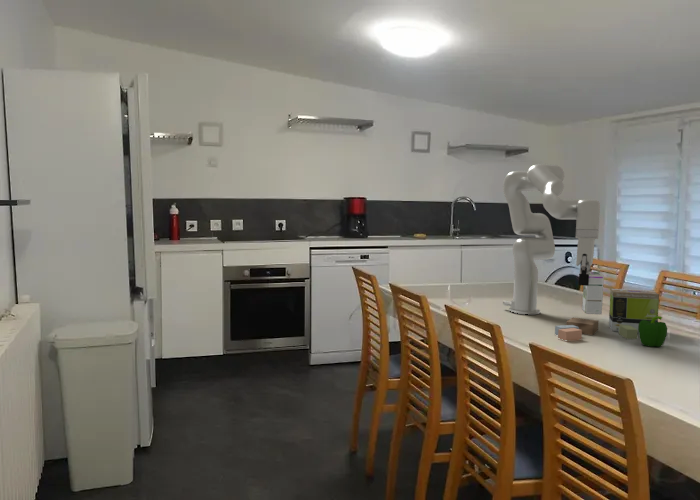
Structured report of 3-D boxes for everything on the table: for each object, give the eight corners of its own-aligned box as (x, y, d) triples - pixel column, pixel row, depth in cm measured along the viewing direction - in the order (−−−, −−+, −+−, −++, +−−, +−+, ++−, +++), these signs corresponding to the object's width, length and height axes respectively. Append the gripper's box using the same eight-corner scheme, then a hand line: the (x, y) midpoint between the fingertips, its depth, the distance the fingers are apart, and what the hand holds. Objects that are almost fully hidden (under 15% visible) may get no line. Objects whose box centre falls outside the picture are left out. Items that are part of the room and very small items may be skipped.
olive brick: (637, 339, 192) (637, 329, 192) (626, 339, 193) (626, 329, 192) (629, 334, 199) (629, 325, 199) (618, 334, 200) (619, 324, 199)
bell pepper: (631, 344, 185) (633, 314, 185) (646, 341, 189) (648, 312, 189) (655, 350, 178) (657, 319, 177) (671, 347, 182) (673, 316, 181)
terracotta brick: (565, 342, 188) (566, 331, 187) (558, 339, 191) (558, 329, 191) (581, 340, 191) (581, 330, 190) (573, 337, 194) (574, 327, 193)
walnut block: (565, 332, 203) (566, 321, 202) (572, 327, 210) (572, 317, 210) (592, 336, 197) (592, 324, 197) (598, 331, 205) (598, 320, 204)
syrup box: (602, 314, 200) (605, 274, 198) (584, 314, 201) (587, 274, 199) (598, 310, 205) (601, 271, 203) (581, 309, 206) (583, 271, 204)
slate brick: (560, 337, 193) (561, 327, 193) (554, 335, 197) (555, 325, 196) (578, 337, 195) (579, 327, 195) (572, 334, 198) (572, 325, 198)
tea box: (652, 329, 208) (654, 289, 207) (657, 335, 199) (660, 294, 198) (608, 325, 213) (610, 287, 212) (611, 331, 204) (613, 291, 202)
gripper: (578, 233, 210) (576, 280, 212) (573, 235, 195) (570, 286, 196) (600, 233, 207) (597, 282, 208) (596, 235, 191) (593, 288, 193)
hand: (584, 283), depth 202 cm, fingers closed on syrup box, 6 cm apart
